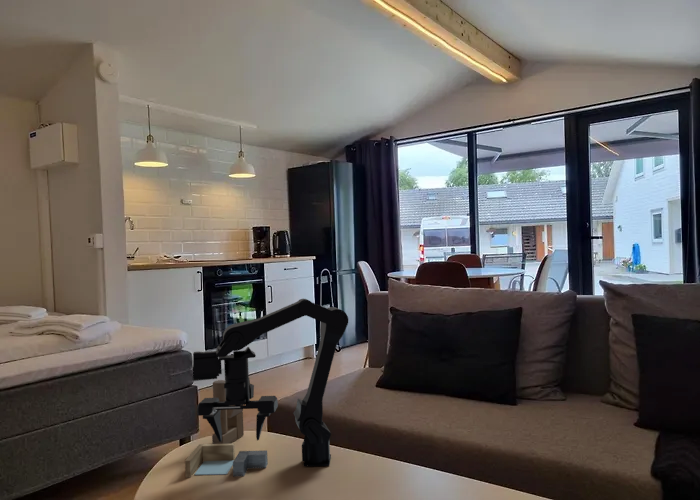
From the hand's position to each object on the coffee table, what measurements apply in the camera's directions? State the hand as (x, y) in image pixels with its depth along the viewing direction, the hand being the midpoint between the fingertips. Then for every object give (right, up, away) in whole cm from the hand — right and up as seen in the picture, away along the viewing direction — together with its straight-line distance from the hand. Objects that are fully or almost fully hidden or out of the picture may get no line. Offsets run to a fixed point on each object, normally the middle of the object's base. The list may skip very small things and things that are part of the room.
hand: (239, 440), depth 126 cm
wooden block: (-8, -8, +22) cm, 24 cm away
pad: (-7, -8, +3) cm, 11 cm away
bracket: (+3, -8, +1) cm, 8 cm away
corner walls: (-7, -8, +4) cm, 11 cm away
